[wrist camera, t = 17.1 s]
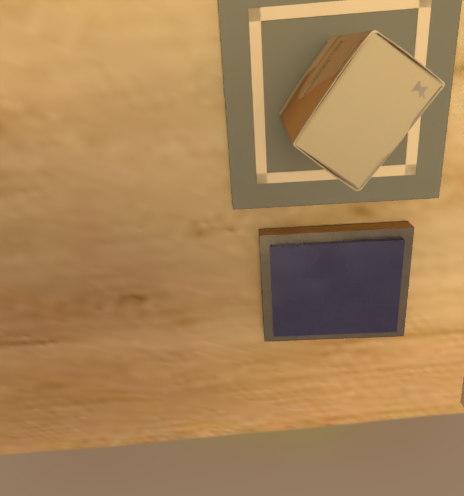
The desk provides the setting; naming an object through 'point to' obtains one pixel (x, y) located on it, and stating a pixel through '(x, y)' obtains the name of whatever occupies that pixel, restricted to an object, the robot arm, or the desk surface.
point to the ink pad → (335, 280)
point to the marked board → (290, 72)
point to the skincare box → (357, 104)
